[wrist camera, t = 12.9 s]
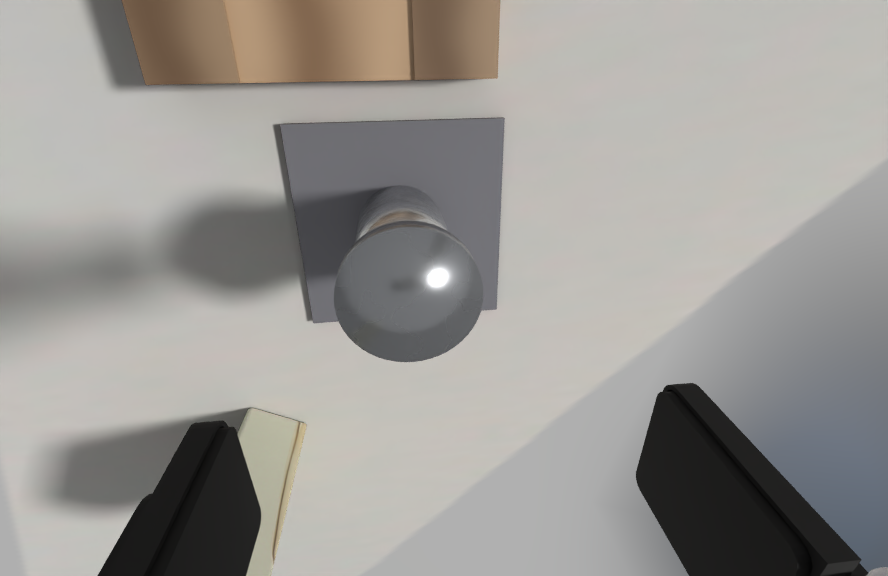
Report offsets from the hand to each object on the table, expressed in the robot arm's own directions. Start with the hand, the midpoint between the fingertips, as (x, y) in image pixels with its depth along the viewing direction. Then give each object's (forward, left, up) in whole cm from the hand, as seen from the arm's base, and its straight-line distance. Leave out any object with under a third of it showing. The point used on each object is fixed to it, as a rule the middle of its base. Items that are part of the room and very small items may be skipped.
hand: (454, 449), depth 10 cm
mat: (+1, +1, -18) cm, 18 cm away
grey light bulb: (+1, +1, -18) cm, 18 cm away
